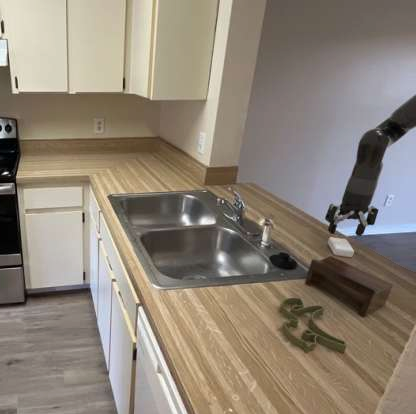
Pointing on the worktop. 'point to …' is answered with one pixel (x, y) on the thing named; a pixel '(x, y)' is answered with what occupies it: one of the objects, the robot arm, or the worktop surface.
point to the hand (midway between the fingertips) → (344, 234)
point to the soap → (340, 247)
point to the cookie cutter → (307, 335)
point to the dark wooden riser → (351, 281)
